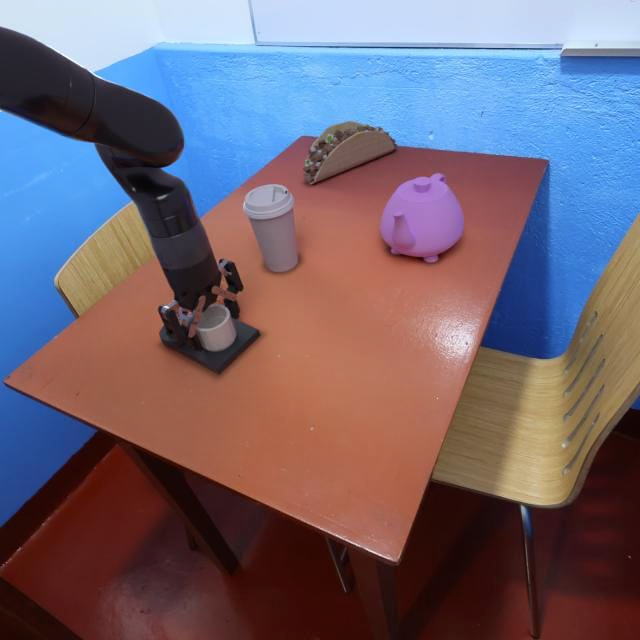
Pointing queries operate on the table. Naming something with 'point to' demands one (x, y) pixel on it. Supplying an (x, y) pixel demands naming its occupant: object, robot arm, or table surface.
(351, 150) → the taco
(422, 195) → the teapot
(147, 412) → the table surface
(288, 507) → the table surface
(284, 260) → the coffee cup
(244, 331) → the dark grey flat slab
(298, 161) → the table surface
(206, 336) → the white round cup
